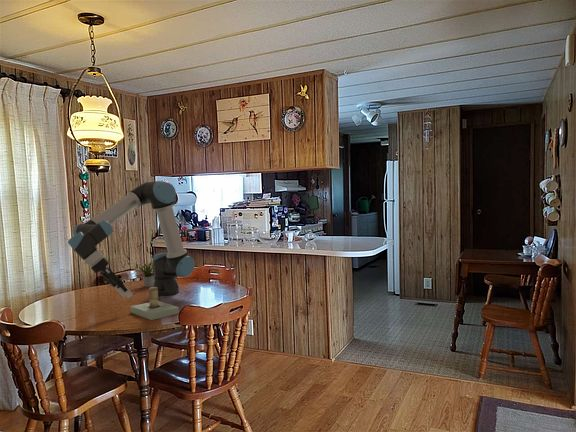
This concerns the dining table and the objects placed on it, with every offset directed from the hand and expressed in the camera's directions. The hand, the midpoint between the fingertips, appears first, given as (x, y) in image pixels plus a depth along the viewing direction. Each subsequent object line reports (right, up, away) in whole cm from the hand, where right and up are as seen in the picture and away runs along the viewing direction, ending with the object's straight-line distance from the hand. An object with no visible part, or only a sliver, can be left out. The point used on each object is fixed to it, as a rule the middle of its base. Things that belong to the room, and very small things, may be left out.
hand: (128, 296), depth 207 cm
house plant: (-11, -6, +69) cm, 70 cm away
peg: (+12, -8, +2) cm, 15 cm away
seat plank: (+12, -8, +2) cm, 14 cm away
